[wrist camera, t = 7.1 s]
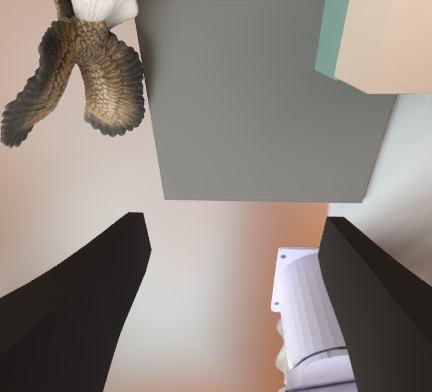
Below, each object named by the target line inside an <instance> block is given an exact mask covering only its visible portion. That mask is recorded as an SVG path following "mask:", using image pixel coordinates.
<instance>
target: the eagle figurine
mask: <svg viewBox="0 0 432 392" xmlns="http://www.w3.org/2000/svg"><path fill="white" fill-rule="evenodd" d="M54 1H55V4H56V9H57V16H58V21H57V22H56V21H53V22H52V23H51V28H48V29H47V32H45V35H44V36H43V38H42V42H41V43H40V45H39V47H38V51H39V54H40V60H39V62H40V67H39V68H38V69H37V70H36V71H35V75H34V76H33V77H31V78H29V79H28V80H27V84H26V86H25V87H24V90H23V91H22V92H20V93H18V94H17V98H16V100H14V101H12V102H10V103H8V104H7V105H6V106H5V109H6V110H5V111H4V112H3V114H2V117H3V118H4V119H3V120H2V122H1V123H2V124H3V125H2V126H1V130H2V131H1V142H2V143H4V145H5V146H9V147H10V148H12V147H13V146H14V145H15V146H16V147H18V146H20V144H21V142H22V141H24V140H25V139H26V138H27V135H28V132H31V130H32V128H33V126H34V124H36V123H37V122H39V121H40V120H42V119H43V118H45V117H46V116H47V115H48V114H49V113H50V112H52V111H53V110H54V108H55V107H56V105H57V104H58V102H59V100H60V98H61V96H62V94H63V92H64V90H65V88H66V86H67V83H68V79H69V77H70V74H71V71H72V69H73V67H74V65H75V64H76V63H77V64H78V66H79V68H80V71H81V74H82V78H83V81H84V85H85V96H86V107H85V113H84V120H85V121H86V122H87V123H90V124H91V125H92V127H93V128H94V129H99V130H100V132H101V133H102V134H103V135H107V134H108V135H109V136H111V137H114V136H116V135H117V134H118V135H120V136H122V135H124V134H125V132H126V130H128V131H132V130H133V127H138V126H139V124H140V123H141V121H142V119H143V118H144V113H145V109H144V107H143V106H144V98H143V96H142V95H143V84H142V82H141V81H142V80H143V78H144V77H143V73H144V70H143V68H142V63H141V61H140V60H139V55H138V53H137V52H135V51H134V49H133V48H132V47H128V46H127V45H126V44H125V43H124V42H123V41H118V39H117V36H116V35H115V34H113V33H111V32H110V29H111V28H113V27H114V26H116V25H118V24H121V23H122V22H124V21H127V20H130V19H132V18H134V17H136V16H137V14H138V4H137V1H136V0H54Z"/></svg>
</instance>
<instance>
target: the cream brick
mask: <svg viewBox="0 0 432 392" xmlns="http://www.w3.org/2000/svg"><path fill="white" fill-rule="evenodd" d="M334 77H336V78H338V79H340V80H342V81H344V82H345V83H347V84H349V85H351V86H353V87H355V88H357V89H359V90H361V91H363V92H365V93H367V94H412V93H432V0H349V4H348V9H347V14H346V19H345V24H344V29H343V34H342V39H341V44H340V49H339V54H338V59H337V64H336V69H335V74H334Z"/></svg>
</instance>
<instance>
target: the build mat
mask: <svg viewBox="0 0 432 392" xmlns="http://www.w3.org/2000/svg"><path fill="white" fill-rule="evenodd" d="M136 1H137V4H138V14H137V16H136V17H135V23H136V29H137V35H138V41H139V47H140V53H141V60H142V66H143V70H144V78H145V84H146V90H147V96H148V101H149V107H150V114H151V120H152V126H153V132H154V138H155V144H156V150H157V156H158V162H159V168H160V174H161V180H162V186H163V192H164V198H165V200H213V201H214V200H215V201H270V202H273V201H274V202H328V203H362V201H363V198H364V195H365V192H366V189H367V185H368V182H369V179H370V176H371V173H372V170H373V167H374V164H375V160H376V157H377V154H378V151H379V148H380V145H381V142H382V139H383V136H384V132H385V129H386V126H387V123H388V120H389V117H390V114H391V111H392V107H393V104H394V101H395V98H396V95H397V94H367V93H365V92H363V91H361V90H359V89H357V88H355V87H353V86H351V85H349V84H347V83H345V82H344V81H342V80H333V79H332V78H330V77H328V76H326V75H324V74H322V73H320V72H319V71H317V70H315V64H316V57H317V51H318V44H319V38H320V31H321V25H322V18H323V12H324V5H325V0H136Z"/></svg>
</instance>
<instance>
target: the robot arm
mask: <svg viewBox="0 0 432 392" xmlns="http://www.w3.org/2000/svg"><path fill="white" fill-rule="evenodd" d="M150 254H151V245H150V241H149V237H148V232H147V228H146V223H145V219H144V214H143V213H137V212H136V213H135V212H134V213H133V212H128V213H127V214H125V215H124V216H123V217H121V218H120V219H119V220H118V221H116V222H115V223H114V224H112V225H111V226H110V227H109V228H107V229H106V230H105V231H104V232H102V233H101V234H100V235H98V236H97V237H96V238H94V239H93V240H92V241H90V242H89V243H88V244H87V245H85V246H84V247H82V248H81V249H79V250H78V251H77V252H75V253H74V254H72V255H71V256H70V257H68V258H67V259H65V260H64V261H63V262H61V263H60V264H58V265H57V266H55V267H53V268H52V269H51V270H49V271H47V272H46V273H44V274H42V275H41V276H39V277H37V278H36V279H34V280H32V281H31V282H29V283H27V284H25V285H24V286H22V287H20V288H18V289H16V290H14V291H13V292H11V293H9V294H7V295H5V296H3V297H1V298H0V392H103V390H104V386H105V383H106V379H107V375H108V372H109V369H110V365H111V362H112V359H113V355H114V352H115V349H116V346H117V342H118V339H119V336H120V333H121V330H122V328H123V325H124V323H125V320H126V318H127V316H128V313H129V311H130V308H131V306H132V304H133V301H134V299H135V297H136V294H137V292H138V289H139V287H140V285H141V282H142V279H143V277H144V275H145V272H146V269H147V265H148V262H149V258H150ZM282 255H284V256H282ZM271 310H272V311H274V312H281V317H282V324H283V331H284V338H285V346H286V353H287V360H288V365H289V369H290V370H286V371H285V376H286V384H287V387H283V388H281V389H280V390H279V391H278V392H432V287H431V286H430V285H429V284H427V283H426V282H424V281H423V280H421V279H420V278H419V277H417V276H416V275H415V274H413V273H412V272H411V271H409V270H408V269H407V268H405V267H404V266H403V265H401V264H400V263H399V262H397V261H396V260H395V259H394V258H392V257H391V256H390V255H389V254H387V253H386V252H385V251H384V250H382V249H381V248H380V247H379V246H378V245H376V244H375V243H374V242H373V241H372V240H371V239H369V238H368V237H367V236H366V235H365V234H364V233H362V232H361V231H360V230H359V229H358V228H357V227H355V226H354V225H353V224H352V223H351V222H349V221H348V220H347V219H346V218H344V217H327V219H326V223H325V227H324V231H323V235H322V239H321V243H320V247H295V246H282V247H280V248H279V250H278V256H277V264H276V272H275V279H274V287H273V295H272V303H271Z"/></svg>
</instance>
